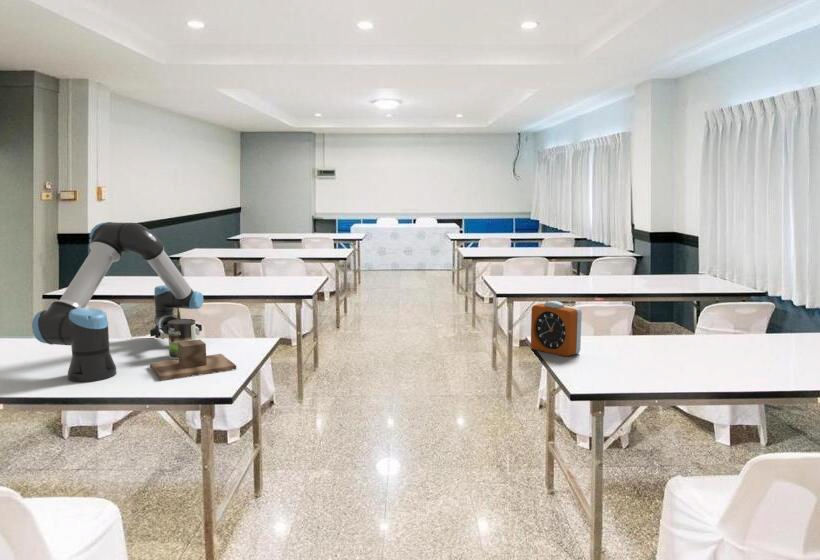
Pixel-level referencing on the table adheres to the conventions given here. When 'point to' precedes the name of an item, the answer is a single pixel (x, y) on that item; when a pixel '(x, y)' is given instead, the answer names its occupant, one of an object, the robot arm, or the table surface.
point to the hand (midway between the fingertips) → (181, 333)
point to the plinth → (180, 372)
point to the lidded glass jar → (180, 334)
